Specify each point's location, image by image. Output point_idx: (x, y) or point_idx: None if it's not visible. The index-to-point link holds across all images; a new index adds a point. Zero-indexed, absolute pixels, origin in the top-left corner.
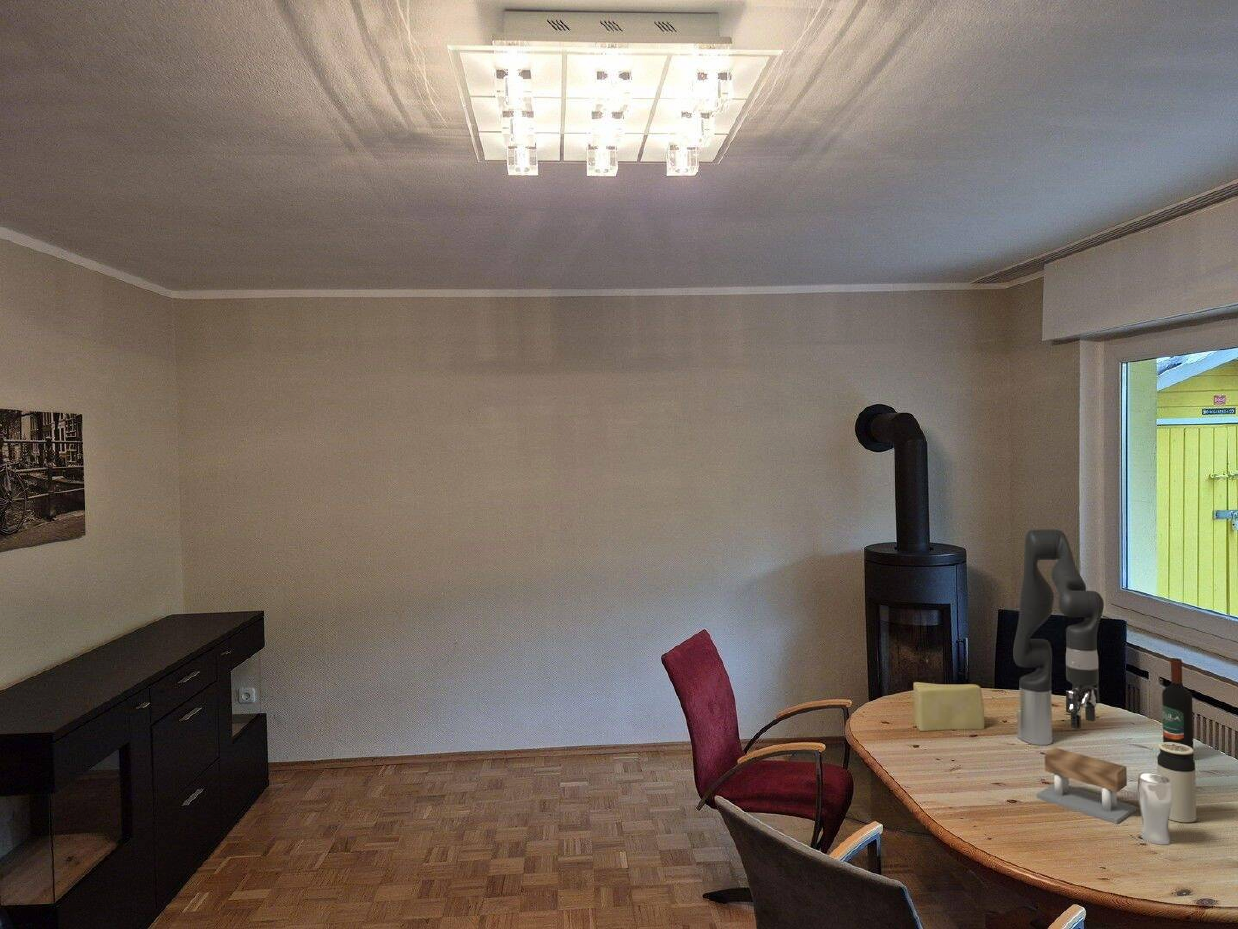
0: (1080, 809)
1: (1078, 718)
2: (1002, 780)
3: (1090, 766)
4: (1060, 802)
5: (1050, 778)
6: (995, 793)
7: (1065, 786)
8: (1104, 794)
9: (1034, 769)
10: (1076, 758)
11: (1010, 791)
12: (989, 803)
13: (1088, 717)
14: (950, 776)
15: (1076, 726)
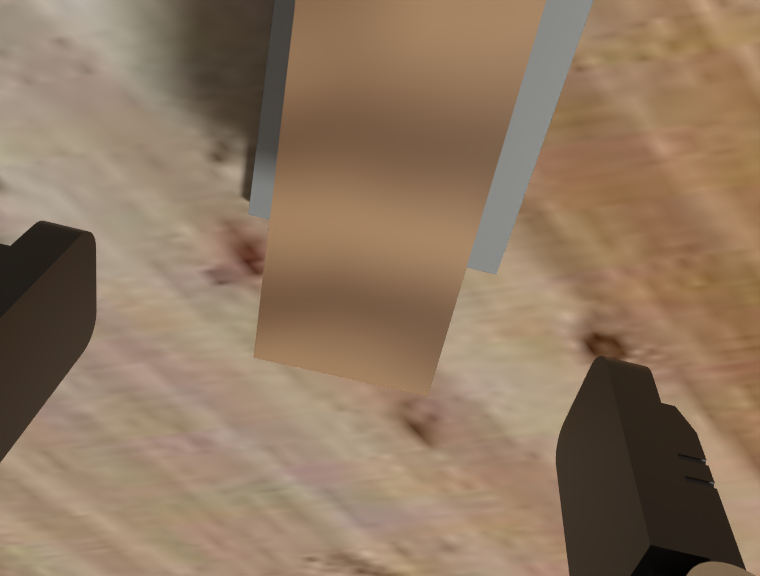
0: (579, 31)
1: (684, 518)
2: (366, 416)
3: (531, 49)
4: (539, 151)
5: (176, 247)
6: (548, 417)
7: None
8: None
9: (118, 326)
10: (408, 189)
11: (482, 371)
12: (690, 420)
13: (70, 329)
14: (460, 568)
15: (674, 426)
